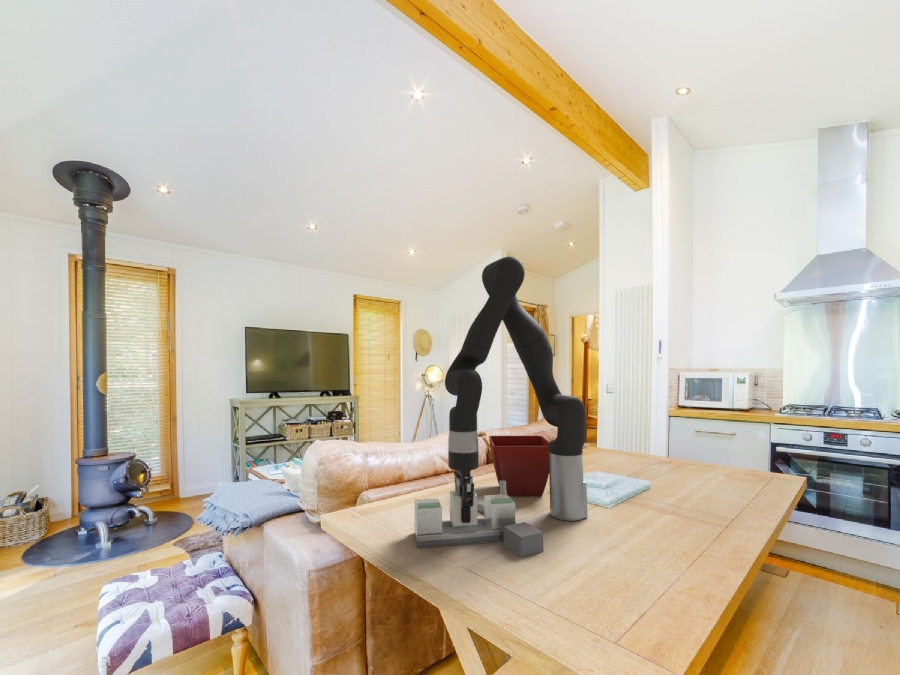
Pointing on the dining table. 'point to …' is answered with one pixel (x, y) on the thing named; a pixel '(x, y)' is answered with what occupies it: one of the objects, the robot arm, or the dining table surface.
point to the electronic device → (481, 500)
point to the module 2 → (523, 539)
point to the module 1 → (456, 509)
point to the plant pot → (521, 463)
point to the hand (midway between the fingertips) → (463, 518)
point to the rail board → (444, 533)
